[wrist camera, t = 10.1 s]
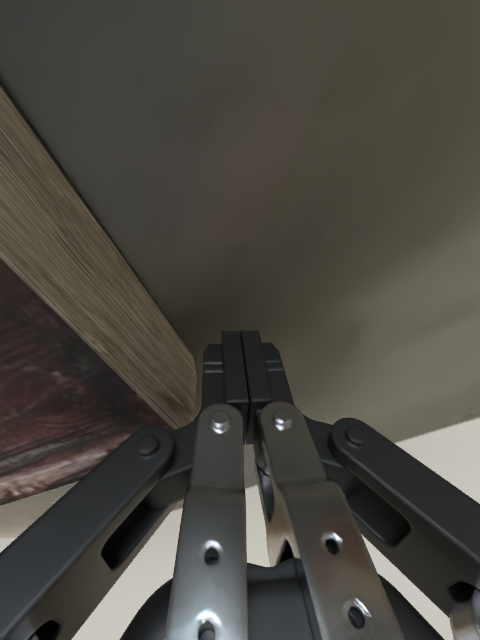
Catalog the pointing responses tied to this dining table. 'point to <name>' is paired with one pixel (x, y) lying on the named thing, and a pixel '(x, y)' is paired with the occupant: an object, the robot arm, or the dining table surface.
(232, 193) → the dining table surface
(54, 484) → the hardback book
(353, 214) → the dining table surface
